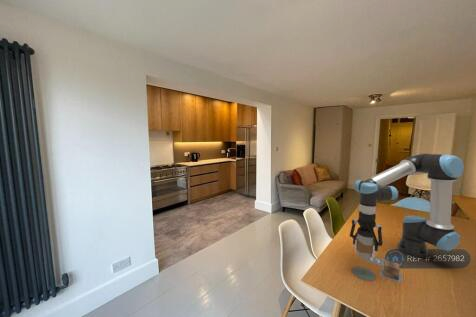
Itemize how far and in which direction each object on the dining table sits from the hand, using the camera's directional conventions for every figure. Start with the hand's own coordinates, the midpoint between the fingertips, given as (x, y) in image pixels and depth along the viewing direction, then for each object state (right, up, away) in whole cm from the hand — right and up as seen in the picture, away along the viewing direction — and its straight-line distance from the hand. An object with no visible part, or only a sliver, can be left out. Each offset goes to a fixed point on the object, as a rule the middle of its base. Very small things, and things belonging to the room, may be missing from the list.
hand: (364, 253), depth 109 cm
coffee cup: (0, -2, 0) cm, 2 cm away
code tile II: (+14, -12, 0) cm, 19 cm away
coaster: (0, -12, +1) cm, 12 cm away
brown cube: (+14, -12, 0) cm, 19 cm away
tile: (+15, -11, +14) cm, 23 cm away
